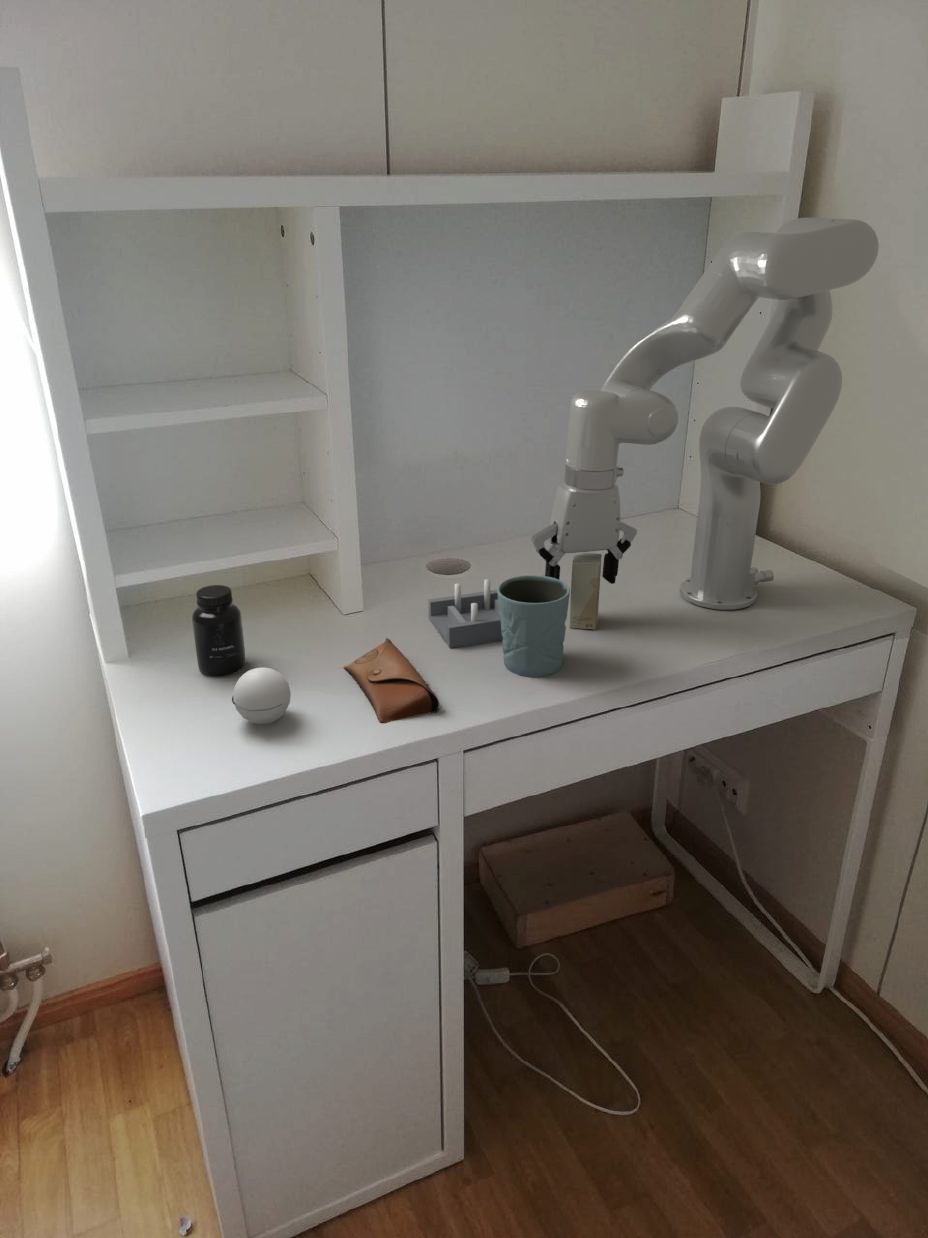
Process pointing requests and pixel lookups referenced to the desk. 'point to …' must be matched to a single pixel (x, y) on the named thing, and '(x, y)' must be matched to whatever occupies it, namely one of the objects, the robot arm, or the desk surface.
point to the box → (585, 590)
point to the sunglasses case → (392, 684)
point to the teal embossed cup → (533, 624)
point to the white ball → (261, 695)
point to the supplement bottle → (218, 632)
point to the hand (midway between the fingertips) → (580, 583)
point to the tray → (467, 617)
